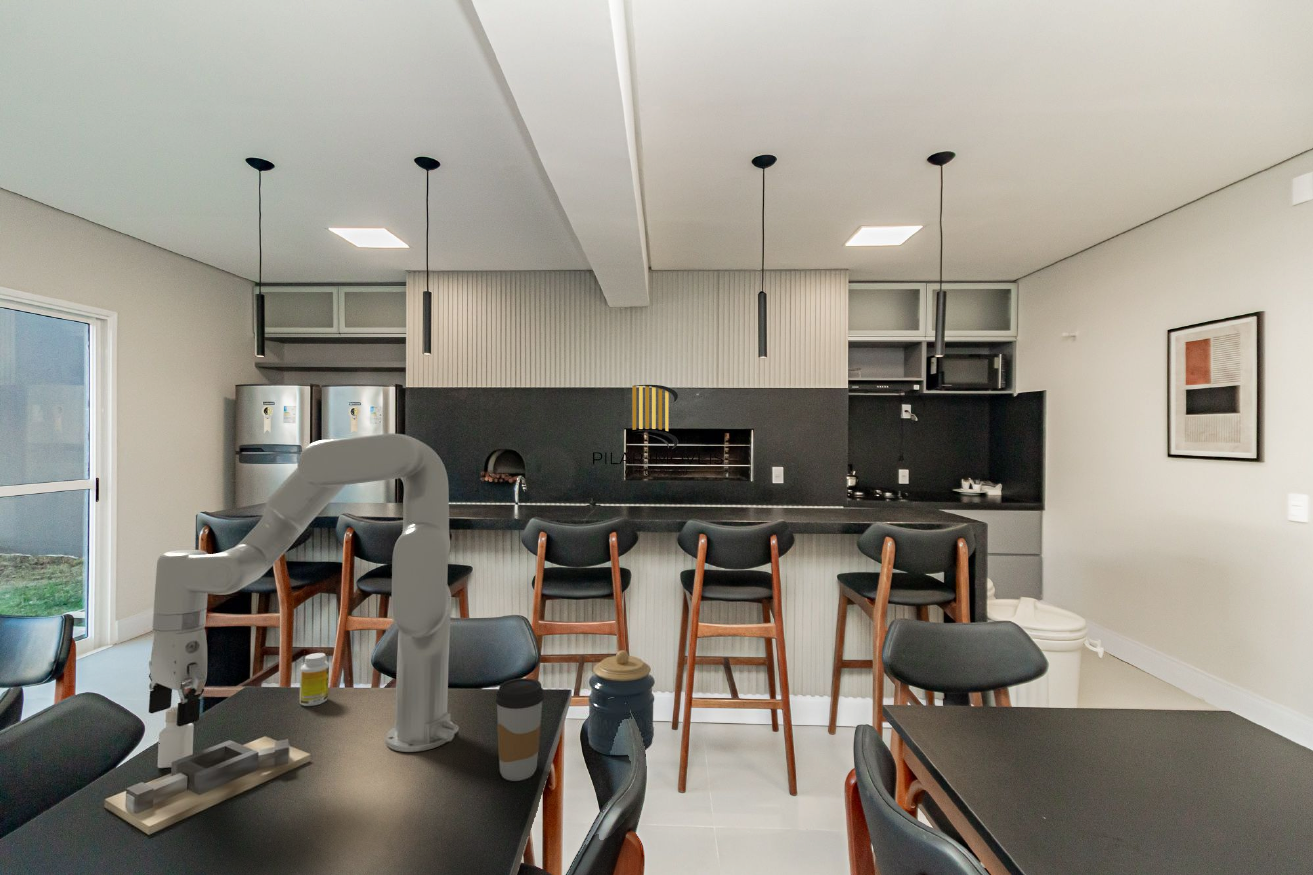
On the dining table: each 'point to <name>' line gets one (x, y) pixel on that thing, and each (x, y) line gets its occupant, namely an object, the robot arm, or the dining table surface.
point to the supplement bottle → (314, 680)
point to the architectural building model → (204, 781)
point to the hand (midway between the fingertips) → (173, 716)
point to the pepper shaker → (174, 740)
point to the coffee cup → (519, 727)
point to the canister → (620, 700)
